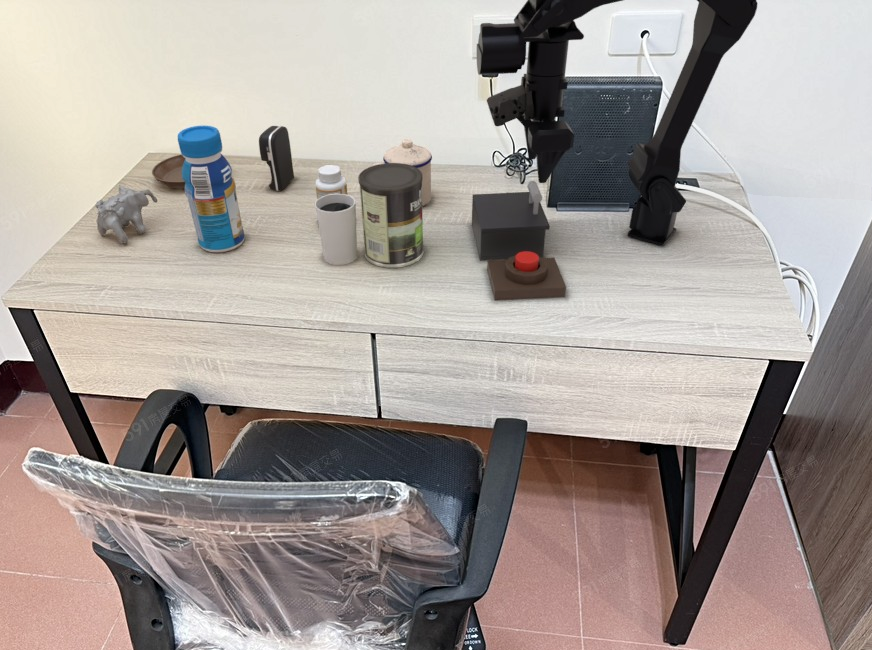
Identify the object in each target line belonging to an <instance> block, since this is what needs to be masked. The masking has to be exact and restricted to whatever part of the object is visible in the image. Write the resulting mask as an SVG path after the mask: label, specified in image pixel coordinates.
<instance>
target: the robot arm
mask: <svg viewBox="0 0 872 650" xmlns="http://www.w3.org/2000/svg"><path fill="white" fill-rule="evenodd" d="M623 1H624V0H526V2H525V3H524V4H523V6H522V8H520V10H519V11H518V13H517V14H516V16H515V17H514V18H513V22H511V23H510V22H509V23H491V22H482V23H480V25H479V34H478V40H477V42H478V43H476V69H477V74H478V75H479V76H483V75H504V74H505V75H506V74H517V73H518V70H522V68H523V66H524V65H525V64H526V73H523V76H521V80H520V81H521V82H520V85H517V86H514V87H511V88H507V89H505V90H503V91H500V92H497V93H496V94H492V95H490V96H489V97H488V98H486V104H487V105H488V109H489V112H490V113H489V114H490V115H491V119H492V121H493V124H494V126H495V127H501V126H505V124H506V123H509V122H511V121H513V120H516V119H517V121H519V123H520V124H521V125H522V126H523V130H524V137H525V144H526V150H527V156H528V159H529V160H535V159H536V168H537V178H538V179H537V180H538V183H539V184H545V183H547V181H548V180H549V178H550V176H551V175H552V174H553V172H554V170H555V169H556V167H557V165H558V164H559V163H560V161H561V160H562V158H563V156H564V155H565V154H566V152H567V151H569V150H570V149H572V148H573V147H574V141H575V133H574V131H573V130H572V128H571V127H570V124H568V123H567V122H566V121H565V120H556V118H564V117H565V111H566V110H565V108H564V107H563V100H564V99H563V97H564V90H568V83H569V82H568V80H567V79H566V71H567V70H566V69H567V61H568V51H569V41H581V40H583V39H584V38H585V35H584V33H583V32H582V31H581V29H579V28H578V26H577V24H576V22H575V20H577V19H581V17H584V16H585V15H587V14H589V12H591V11H593V10H594V9H597V8H599V7H602V6H605V5H610V4H613V3H614V4H615V3H618V2H623ZM696 1H697V2H698V3H697V8H696V11H695V16H694V20H693V28H692V29H693V32H692V43H691V47H690V50H689V52H688V54H687V57H686V59H685V62H684V64H683V67H682V68H681V71H680V73H679V75H678V78H677V80H676V83H675V85H674V87H673V89H672V93H671V95H670V97H669V99H668V102H667V104H666V106H665V109H664V111H663V113H662V116H661V118H660V120H659V123H658V125H657V128H656V130H655V132H654V134H653V136H652V137H651V138H650V139H649V140H648V141H647V142H646V143H645V144H642V143H640V142H636V144H635V147H634V151H633V155H632V157H631V159H629V161H628V162H627V163H626V165H627V167H628V168H629V170H628V177H629V179H630V181H631V183H632V185H633V186H634V187H635V189H636V191H637V192H638V194H639V195H640V197H638V199H637V201H636V204H635V205H633V207H632V210H631V216H630V221H629V226H628V227H629V229H630V230H629V231H628V232H627V237H629V238H633V239H636V240H639V241H644V242H647V243H650V244H655V245H658V246H664V245H665V244H666V243H667V242H668V241H669V240H670V238H672V236H673V235H674V234H675V233H676V232H677V228H676V227H675V224H676V219H677V215H678V213H680V212H681V211H682V210H683V208H684V207H685V205H686V203H687V200H686V198H685V197H684V196H683V194H682V192H680V190H679V189H678V188H677V186H676V185H677V181H678V177H679V174H680V170H681V156H682V155H681V153H682V147H683V145H684V143H685V141H686V139H687V136H688V134H689V132H690V129H691V127H692V125H693V124H694V123H693V122H694V120H695V119H696V116H697V114H698V112H699V110H700V108H701V105H702V103H703V100H705V99H704V98H705V97H706V94H707V92H708V90H709V88H710V85H711V83H712V81H713V79H714V77H715V75H716V73H717V70H718V69H719V65H720V64H721V62H722V59H723V57H724V56H725V55H726V54H727V53H728V52H729V50H731V49H732V48H733V46H734V45H735V44H737V43H738V42H739V41H740V40H741V38H742V37H743V35H744V33H745V32H746V30H747V29H748V27H749V25H750V24H751V22H752V21H753V20H754V17H755V16H756V13H757V10H758V1H757V0H696ZM527 43H528V48H527ZM526 58H527V59H526ZM526 60H527V62H526Z"/></svg>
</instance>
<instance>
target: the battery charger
mask: <svg viewBox="0 0 872 650" xmlns="http://www.w3.org/2000/svg"><path fill="white" fill-rule="evenodd" d="M258 148H259V155H260V160H261V162H266V164H267V165H268V168H269V171H270V178H271V181H270V183H269V184H268V189H270V190H271V191H276V192H280V191H283V190H284V189H285V188H286V187H287V186H288V185H289V184H290V183H291V182H292V181H293V180H294V179H295V172H294V166H293V165H294V164H293V157H292V156H293V155H292V148H291V141H290V135H289V130H288V128H287V127H286V126H283V125H271V126H269V127H267V128H266V129H265V130H264V131H263V132H262V133H261V134H260V135H259V137H258Z"/></svg>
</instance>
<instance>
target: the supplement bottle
mask: <svg viewBox="0 0 872 650" xmlns="http://www.w3.org/2000/svg"><path fill="white" fill-rule="evenodd" d="M317 173H318V174H317V176H318V178H317V179H316V180H315V192H316V200H317V199H319V198H321V197H322V196H326V195H329V194H346V195H348V186H347V180H346V178H345V177H344V176H343V175H342V171H341V167H340V166H338V165H336V164H325V165H322V166H321V167H319V168H318V170H317Z"/></svg>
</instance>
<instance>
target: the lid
mask: <svg viewBox="0 0 872 650" xmlns="http://www.w3.org/2000/svg"><path fill="white" fill-rule="evenodd" d="M526 186H527V190H528V191H518V192H516V191H515V192H498V193H497V192H496V193H478V194H477V193H476V194H475V193H474V194H472V196H471V197H472V198H471V199H473V202H474V206H475V210H476V214H477V218H478V222H479V226H480V230H481V233H484V232H505V231H526V230H546V231H547V230H550V226H551V225H550V222H549V220H548V218H547V215H546V213H545V209H544V208H543V205H542V203H541V201H542V200H543V195H542V193H541V191H540V187H539V185H538V183H537V182H536V181H535V180H531V181H530V180H529V182H528V183H527V185H526Z"/></svg>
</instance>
